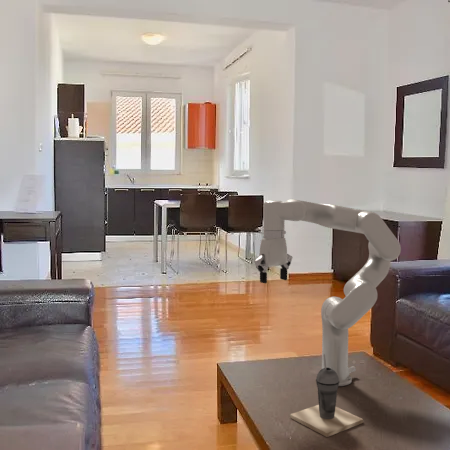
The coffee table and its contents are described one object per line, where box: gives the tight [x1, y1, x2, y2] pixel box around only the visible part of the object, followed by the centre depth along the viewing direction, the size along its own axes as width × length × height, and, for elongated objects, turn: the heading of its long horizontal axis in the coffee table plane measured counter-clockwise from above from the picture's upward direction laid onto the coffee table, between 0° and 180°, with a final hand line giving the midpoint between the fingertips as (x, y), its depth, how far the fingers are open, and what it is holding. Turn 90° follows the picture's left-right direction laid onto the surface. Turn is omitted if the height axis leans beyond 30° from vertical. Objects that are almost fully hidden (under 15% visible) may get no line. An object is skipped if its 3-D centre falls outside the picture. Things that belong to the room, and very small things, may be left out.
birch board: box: [289, 404, 364, 438], centre depth 177 cm, size 16×16×1 cm
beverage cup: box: [315, 354, 339, 419], centre depth 177 cm, size 7×7×20 cm
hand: (273, 281), depth 205 cm, fingers open, 9 cm apart
